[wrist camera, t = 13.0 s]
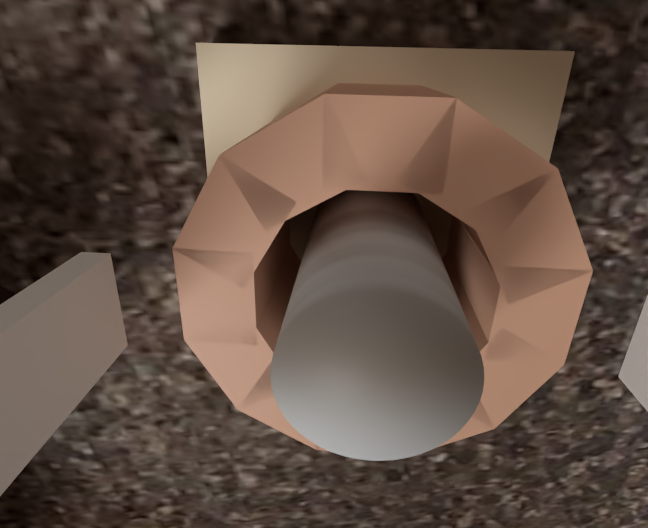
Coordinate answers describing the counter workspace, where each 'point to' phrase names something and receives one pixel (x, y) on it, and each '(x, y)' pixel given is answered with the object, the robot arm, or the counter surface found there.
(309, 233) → the post base
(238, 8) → the counter surface
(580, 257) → the ring
